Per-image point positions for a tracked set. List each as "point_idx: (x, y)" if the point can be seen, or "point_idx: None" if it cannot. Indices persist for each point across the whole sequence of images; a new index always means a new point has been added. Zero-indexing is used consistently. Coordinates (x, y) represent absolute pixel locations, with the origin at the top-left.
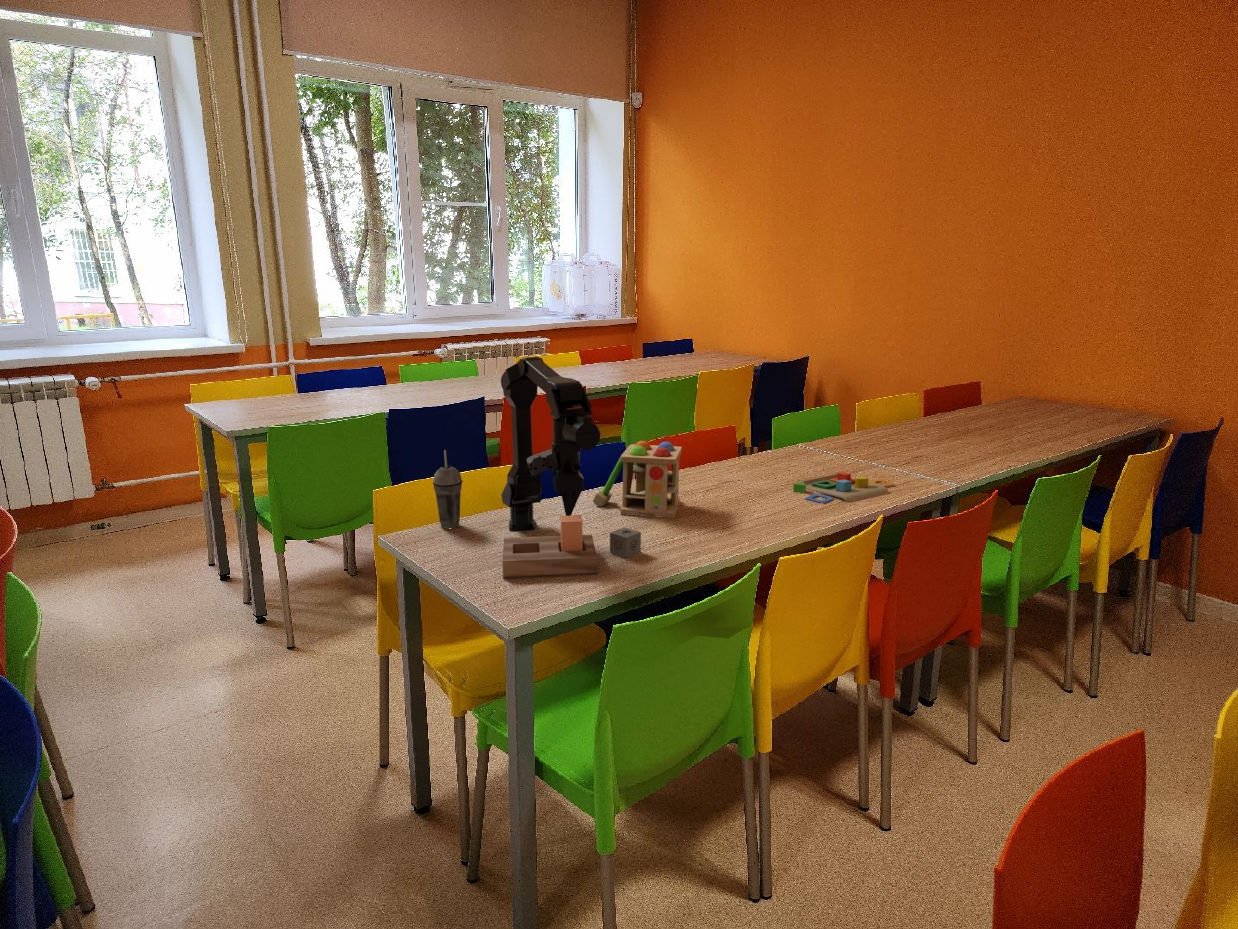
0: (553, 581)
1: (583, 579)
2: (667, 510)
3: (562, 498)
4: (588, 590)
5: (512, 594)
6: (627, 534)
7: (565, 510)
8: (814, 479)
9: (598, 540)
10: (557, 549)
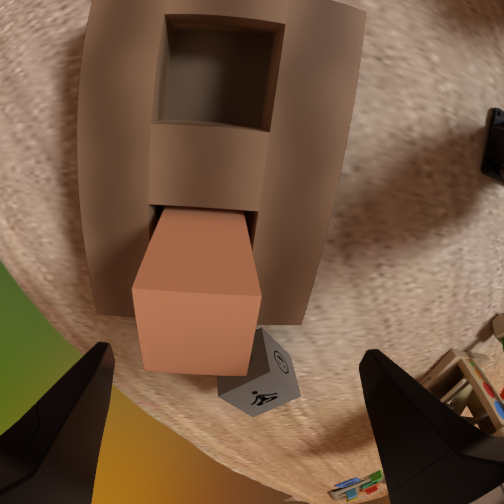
0: (71, 159)
1: (82, 242)
2: None
3: (9, 430)
4: (26, 245)
5: (16, 53)
6: (243, 399)
7: (76, 366)
8: None
9: (356, 311)
10: (173, 199)
